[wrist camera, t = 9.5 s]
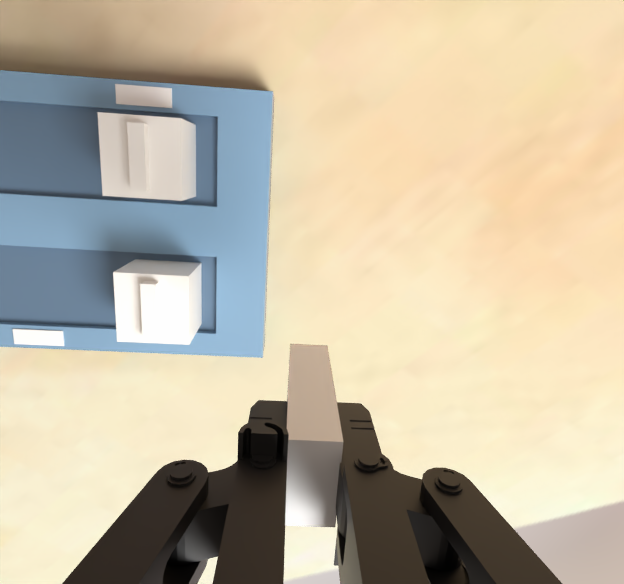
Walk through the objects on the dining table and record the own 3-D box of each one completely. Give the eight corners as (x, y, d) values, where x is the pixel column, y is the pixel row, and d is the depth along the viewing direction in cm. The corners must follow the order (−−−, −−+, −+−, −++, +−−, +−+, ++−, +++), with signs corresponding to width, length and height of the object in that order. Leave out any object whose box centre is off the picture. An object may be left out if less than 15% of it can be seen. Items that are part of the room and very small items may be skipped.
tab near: (127, 192, 26) (97, 196, 22) (123, 119, 25) (92, 110, 21) (196, 196, 26) (178, 201, 22) (195, 124, 25) (177, 116, 21)
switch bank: (-36, 332, 29) (-61, 344, 27) (-78, 69, 25) (-110, 61, 23) (264, 345, 31) (262, 358, 29) (274, 96, 26) (272, 91, 24)
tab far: (138, 320, 28) (112, 345, 24) (135, 259, 27) (108, 274, 23) (201, 323, 28) (186, 348, 24) (201, 262, 27) (185, 278, 23)
